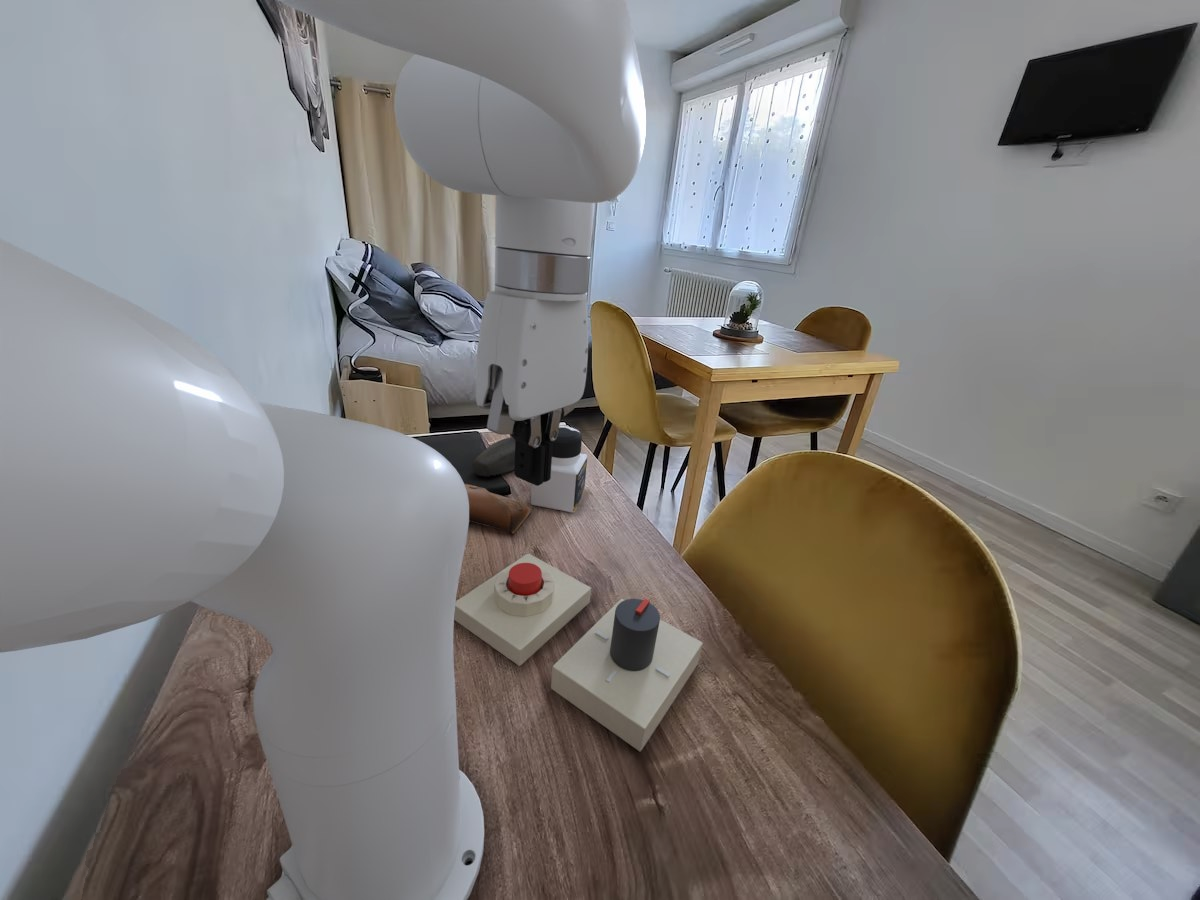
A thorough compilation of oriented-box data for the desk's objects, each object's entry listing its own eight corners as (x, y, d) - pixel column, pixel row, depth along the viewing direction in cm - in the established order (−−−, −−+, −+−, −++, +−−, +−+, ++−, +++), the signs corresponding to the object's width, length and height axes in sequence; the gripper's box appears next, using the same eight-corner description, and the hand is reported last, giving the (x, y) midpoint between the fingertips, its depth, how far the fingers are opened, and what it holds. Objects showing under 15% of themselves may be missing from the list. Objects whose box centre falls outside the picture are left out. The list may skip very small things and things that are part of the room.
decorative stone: (525, 443, 97) (526, 424, 95) (552, 452, 94) (553, 432, 93) (465, 474, 83) (464, 452, 81) (494, 486, 80) (494, 463, 79)
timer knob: (641, 678, 45) (649, 635, 42) (602, 657, 46) (607, 615, 44) (659, 649, 48) (667, 607, 46) (622, 630, 50) (628, 590, 48)
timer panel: (640, 752, 41) (645, 727, 40) (550, 688, 46) (552, 664, 45) (698, 663, 51) (703, 641, 49) (618, 618, 55) (621, 596, 54)
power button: (525, 601, 52) (526, 588, 51) (501, 586, 53) (501, 573, 53) (547, 584, 54) (548, 571, 54) (524, 570, 56) (524, 558, 55)
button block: (519, 666, 48) (520, 636, 47) (452, 619, 53) (451, 590, 51) (590, 602, 57) (593, 575, 56) (527, 566, 62) (528, 541, 61)
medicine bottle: (574, 513, 75) (579, 443, 70) (529, 505, 76) (532, 435, 71) (584, 492, 81) (590, 426, 76) (543, 484, 82) (547, 419, 77)
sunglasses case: (535, 506, 75) (527, 483, 69) (518, 547, 71) (508, 526, 66) (432, 482, 79) (416, 458, 73) (410, 520, 75) (393, 498, 69)
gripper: (562, 272, 47) (551, 446, 54) (435, 269, 35) (442, 492, 42) (628, 282, 43) (607, 467, 50) (511, 282, 32) (504, 523, 39)
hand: (532, 478), depth 46 cm, fingers closed
